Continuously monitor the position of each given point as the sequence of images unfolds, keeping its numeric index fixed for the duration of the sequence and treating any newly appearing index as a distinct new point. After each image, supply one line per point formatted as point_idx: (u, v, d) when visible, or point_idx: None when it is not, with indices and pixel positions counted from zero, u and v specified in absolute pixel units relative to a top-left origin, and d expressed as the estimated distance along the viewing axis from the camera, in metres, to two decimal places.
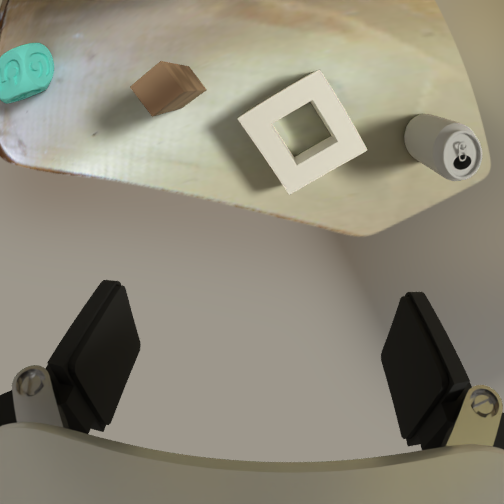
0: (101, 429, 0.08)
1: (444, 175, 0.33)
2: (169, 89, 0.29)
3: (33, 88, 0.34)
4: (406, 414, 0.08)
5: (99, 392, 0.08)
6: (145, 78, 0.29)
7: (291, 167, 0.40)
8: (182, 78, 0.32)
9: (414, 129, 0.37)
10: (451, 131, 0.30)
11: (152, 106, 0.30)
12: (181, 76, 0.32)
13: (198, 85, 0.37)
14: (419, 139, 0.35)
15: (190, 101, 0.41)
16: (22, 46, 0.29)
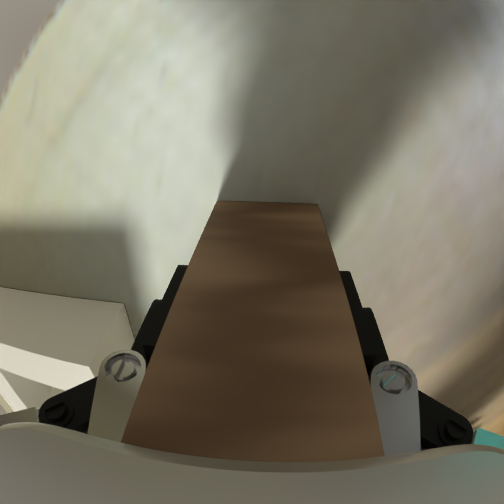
0: None
1: None
2: None
3: None
4: None
5: None
6: None
7: None
8: None
9: None
10: None
11: None
12: None
13: None
14: None
15: None
16: None
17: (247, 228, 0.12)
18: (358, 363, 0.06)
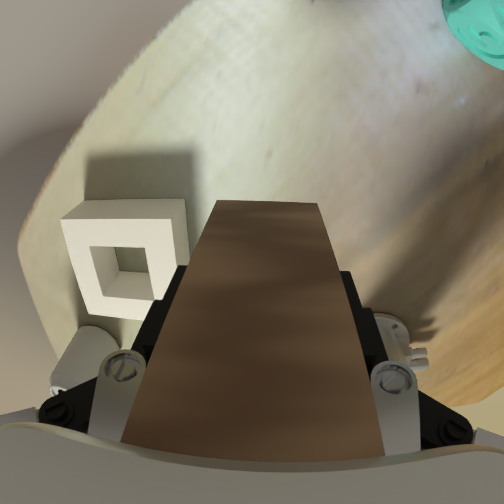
0: None
1: (53, 376, 0.32)
2: None
3: (464, 7, 0.15)
4: None
5: None
6: None
7: (88, 239, 0.28)
8: None
9: (104, 350, 0.39)
10: None
11: None
12: None
13: None
14: (90, 359, 0.36)
15: None
16: None
17: (247, 227, 0.12)
18: (358, 361, 0.06)
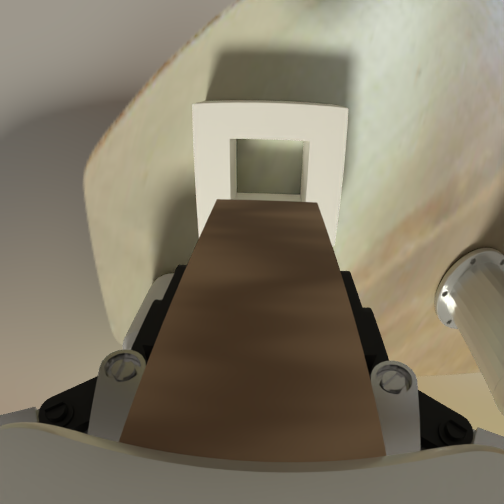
0: None
1: (134, 334, 0.27)
2: None
3: None
4: None
5: None
6: None
7: (231, 130, 0.23)
8: None
9: None
10: None
11: None
12: None
13: None
14: None
15: None
16: None
17: (247, 226, 0.12)
18: (359, 360, 0.06)
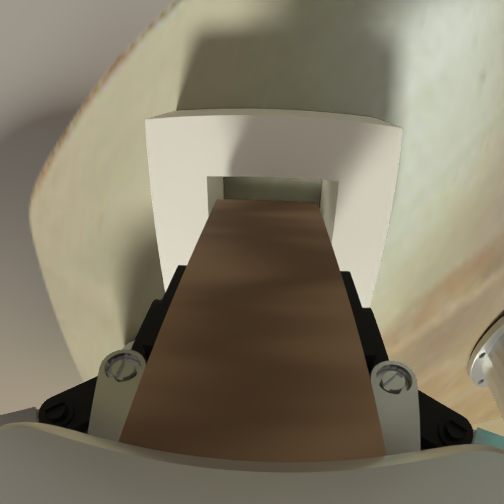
0: None
1: None
2: None
3: None
4: None
5: None
6: None
7: (208, 161, 0.14)
8: None
9: None
10: None
11: None
12: None
13: None
14: None
15: None
16: None
17: (247, 226, 0.12)
18: (359, 361, 0.06)
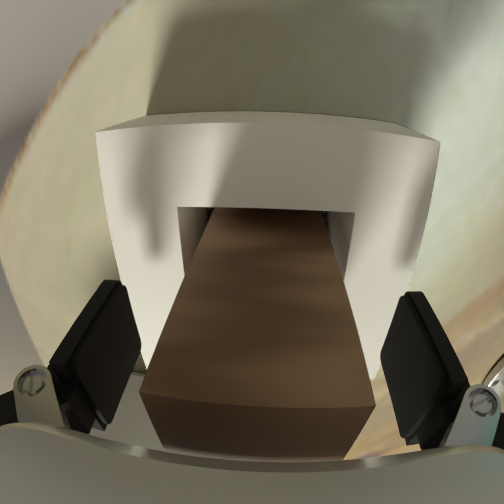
0: (102, 429, 0.08)
1: None
2: None
3: None
4: (405, 414, 0.08)
5: (100, 392, 0.08)
6: (330, 451, 0.06)
7: (178, 187, 0.11)
8: None
9: None
10: None
11: (189, 418, 0.06)
12: None
13: None
14: (143, 441, 0.18)
15: None
16: None
17: None
18: (345, 305, 0.08)
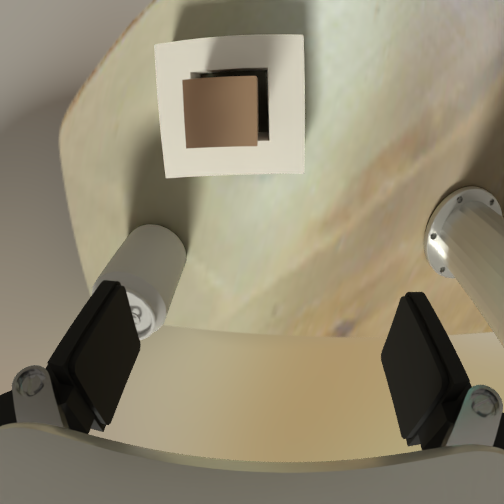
0: (101, 429, 0.08)
1: (101, 278, 0.26)
2: (204, 130, 0.18)
3: None
4: (407, 414, 0.08)
5: (99, 392, 0.08)
6: (249, 107, 0.18)
7: (191, 63, 0.22)
8: None
9: (171, 248, 0.32)
10: (156, 310, 0.27)
11: (197, 89, 0.17)
12: None
13: None
14: (156, 255, 0.30)
15: None
16: None
17: None
18: None
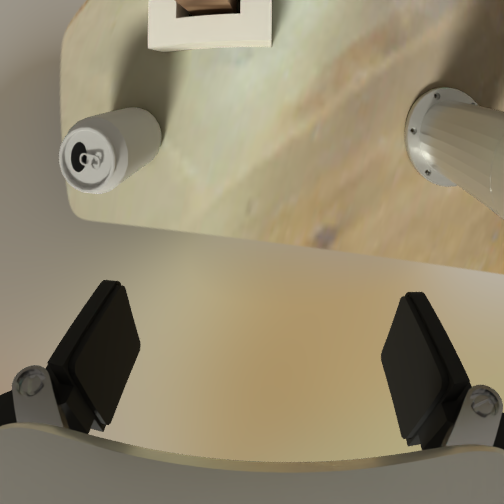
0: (101, 429, 0.08)
1: (73, 127, 0.24)
2: None
3: None
4: (407, 414, 0.08)
5: (99, 392, 0.08)
6: None
7: None
8: None
9: (146, 120, 0.30)
10: (118, 154, 0.25)
11: None
12: None
13: (197, 12, 0.25)
14: (129, 117, 0.28)
15: None
16: None
17: None
18: None
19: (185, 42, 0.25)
